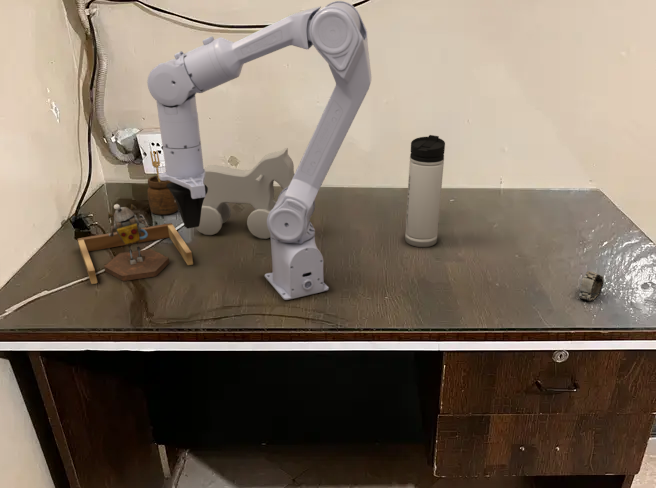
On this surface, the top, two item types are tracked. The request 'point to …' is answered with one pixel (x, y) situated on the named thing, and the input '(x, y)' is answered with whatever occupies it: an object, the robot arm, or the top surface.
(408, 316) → the top surface
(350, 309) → the top surface
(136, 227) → the robot figurine
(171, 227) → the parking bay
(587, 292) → the wristwatch
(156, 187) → the utensil holder
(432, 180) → the travel mug
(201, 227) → the pony
